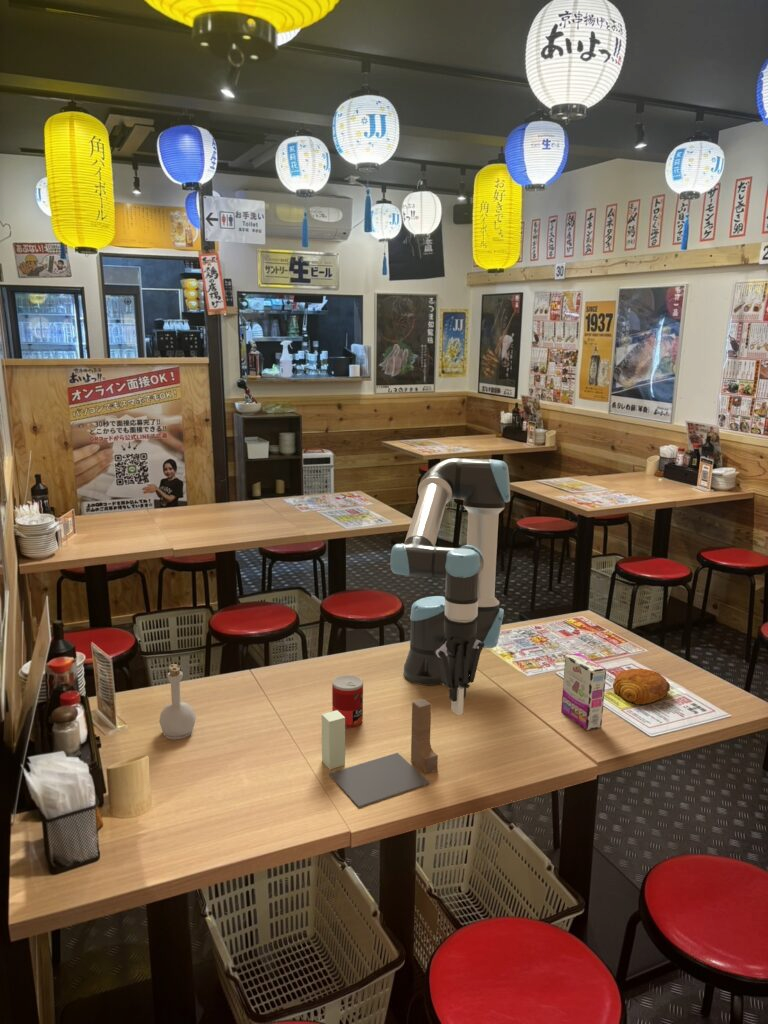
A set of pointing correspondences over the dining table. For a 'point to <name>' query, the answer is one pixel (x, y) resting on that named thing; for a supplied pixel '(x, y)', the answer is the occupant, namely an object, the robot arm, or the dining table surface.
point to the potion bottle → (176, 710)
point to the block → (333, 739)
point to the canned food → (348, 699)
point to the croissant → (640, 685)
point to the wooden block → (422, 737)
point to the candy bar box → (583, 691)
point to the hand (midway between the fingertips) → (456, 712)
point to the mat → (378, 779)
